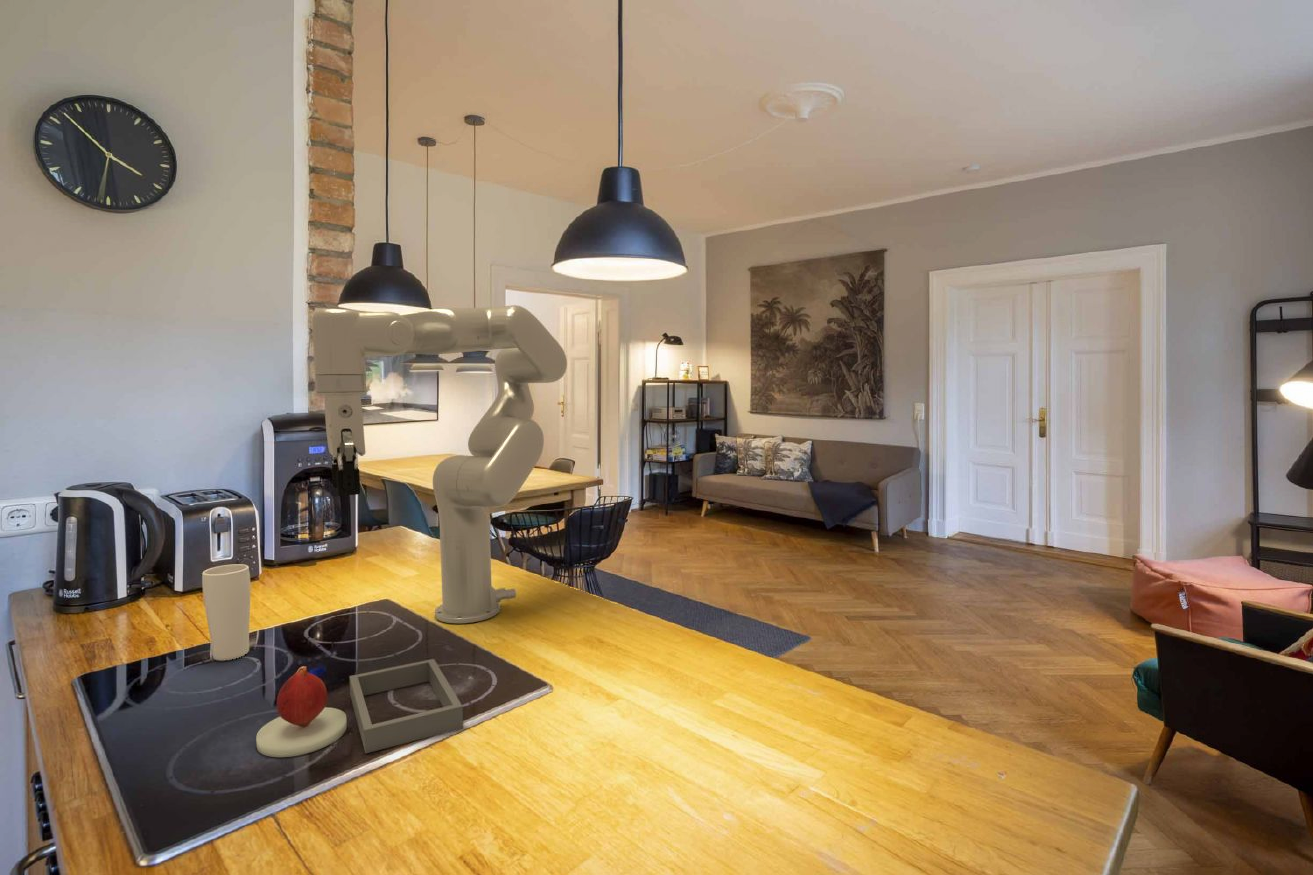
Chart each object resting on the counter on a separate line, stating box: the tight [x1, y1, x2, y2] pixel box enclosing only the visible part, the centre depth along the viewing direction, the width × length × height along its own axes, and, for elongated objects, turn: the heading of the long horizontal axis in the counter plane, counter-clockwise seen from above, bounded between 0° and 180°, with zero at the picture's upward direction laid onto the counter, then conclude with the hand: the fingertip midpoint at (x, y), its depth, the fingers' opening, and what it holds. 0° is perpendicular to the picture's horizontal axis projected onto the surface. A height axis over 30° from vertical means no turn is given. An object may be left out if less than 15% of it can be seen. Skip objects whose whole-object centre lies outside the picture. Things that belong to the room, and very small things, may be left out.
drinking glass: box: [201, 563, 251, 662], centre depth 113 cm, size 7×7×15 cm
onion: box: [276, 665, 328, 727], centre depth 87 cm, size 6×6×8 cm
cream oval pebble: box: [255, 706, 348, 758], centre depth 87 cm, size 10×10×1 cm
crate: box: [348, 658, 464, 754], centre depth 93 cm, size 12×18×3 cm, turn 30°
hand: (346, 490), depth 110 cm, fingers open, 9 cm apart
